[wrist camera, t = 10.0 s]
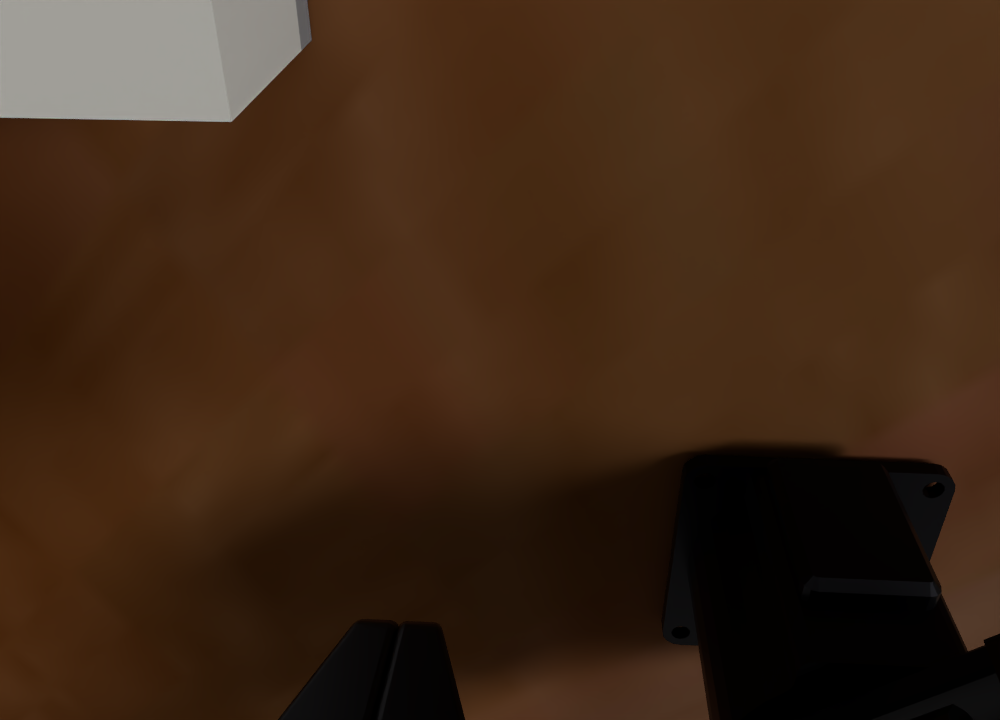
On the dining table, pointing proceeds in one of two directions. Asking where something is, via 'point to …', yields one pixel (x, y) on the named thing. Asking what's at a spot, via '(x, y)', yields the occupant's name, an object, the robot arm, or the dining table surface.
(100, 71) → the case
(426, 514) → the dining table surface
